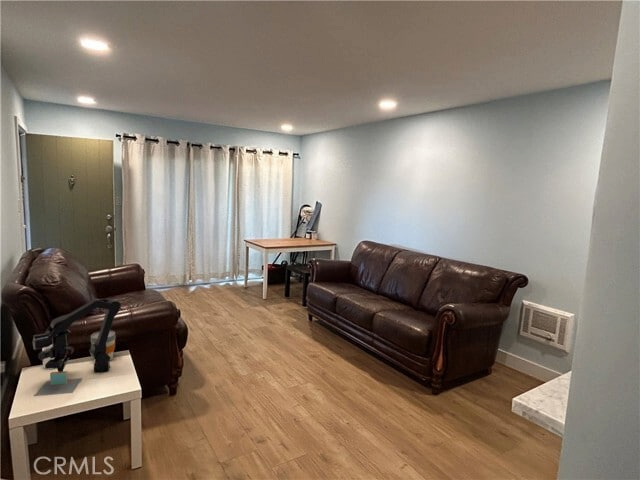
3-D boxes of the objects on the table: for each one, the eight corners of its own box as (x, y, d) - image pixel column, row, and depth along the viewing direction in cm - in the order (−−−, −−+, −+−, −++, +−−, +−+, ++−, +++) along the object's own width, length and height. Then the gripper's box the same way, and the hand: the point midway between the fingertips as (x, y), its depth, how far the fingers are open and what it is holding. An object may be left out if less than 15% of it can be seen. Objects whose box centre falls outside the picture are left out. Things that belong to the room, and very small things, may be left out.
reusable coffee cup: (92, 366, 202) (91, 340, 200) (90, 357, 212) (89, 332, 210) (117, 361, 210) (117, 336, 208) (114, 352, 220) (114, 328, 218)
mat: (82, 379, 189) (82, 378, 189) (72, 393, 176) (72, 392, 176) (46, 381, 185) (46, 380, 184) (33, 397, 171) (33, 396, 171)
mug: (65, 366, 200) (64, 347, 198) (45, 372, 193) (44, 352, 192) (59, 359, 208) (58, 340, 206) (39, 364, 201) (39, 345, 200)
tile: (68, 382, 184) (67, 371, 184) (66, 383, 183) (66, 372, 182) (51, 383, 182) (51, 372, 182) (50, 385, 181) (50, 373, 180)
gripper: (49, 337, 189) (50, 365, 191) (31, 353, 171) (32, 384, 173) (73, 336, 192) (74, 364, 194) (58, 351, 174) (60, 382, 176)
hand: (60, 373), depth 184 cm, fingers closed
